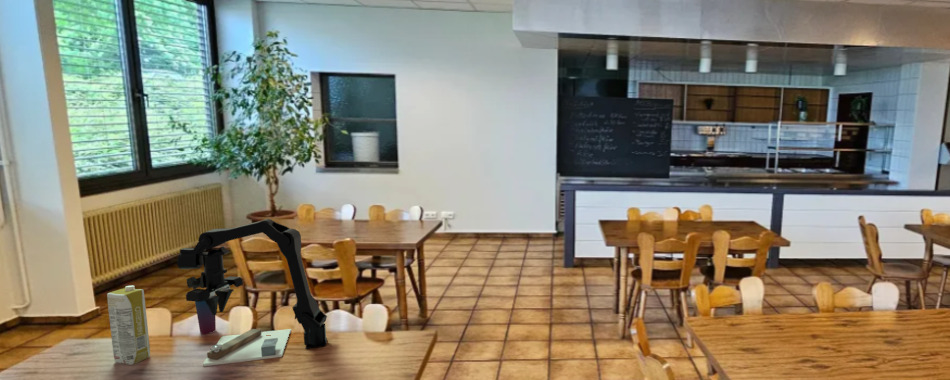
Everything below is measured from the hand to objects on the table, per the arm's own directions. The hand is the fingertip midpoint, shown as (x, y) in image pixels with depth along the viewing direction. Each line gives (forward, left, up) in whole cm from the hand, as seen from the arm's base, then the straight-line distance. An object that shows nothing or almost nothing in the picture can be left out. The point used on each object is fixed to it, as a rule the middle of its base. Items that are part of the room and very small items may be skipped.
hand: (217, 313), depth 165 cm
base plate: (-10, +2, -12) cm, 16 cm away
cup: (+9, -18, -12) cm, 23 cm away
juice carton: (+26, +1, -12) cm, 28 cm away
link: (-5, +2, -11) cm, 12 cm away
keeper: (-17, +10, -12) cm, 23 cm away
